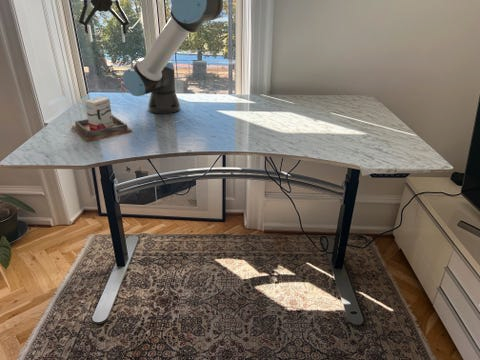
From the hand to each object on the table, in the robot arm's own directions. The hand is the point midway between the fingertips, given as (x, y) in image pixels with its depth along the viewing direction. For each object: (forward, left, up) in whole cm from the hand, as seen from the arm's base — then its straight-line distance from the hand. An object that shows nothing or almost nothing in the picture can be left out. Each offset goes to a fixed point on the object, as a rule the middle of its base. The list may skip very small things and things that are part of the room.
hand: (107, 41), depth 149 cm
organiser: (+3, +26, -31) cm, 40 cm away
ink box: (+3, +26, -30) cm, 40 cm away
